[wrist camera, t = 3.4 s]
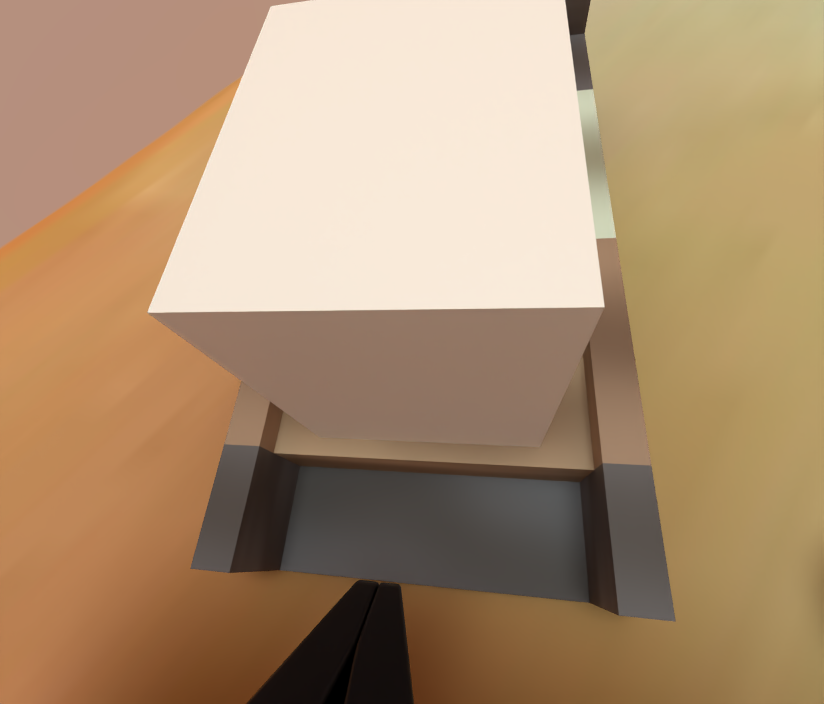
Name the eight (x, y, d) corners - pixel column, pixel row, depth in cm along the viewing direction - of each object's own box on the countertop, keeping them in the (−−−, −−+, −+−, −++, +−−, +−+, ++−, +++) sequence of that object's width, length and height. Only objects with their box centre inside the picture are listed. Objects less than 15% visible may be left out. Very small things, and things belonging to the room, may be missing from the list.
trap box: (629, 606, 13) (731, 640, 7) (252, 566, 15) (121, 570, 10) (569, 91, 23) (593, -50, 18) (350, 113, 25) (314, -7, 20)
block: (539, 447, 13) (605, 307, 6) (319, 437, 14) (147, 312, 7) (529, 217, 17) (560, -38, 9) (357, 226, 18) (271, 6, 11)
